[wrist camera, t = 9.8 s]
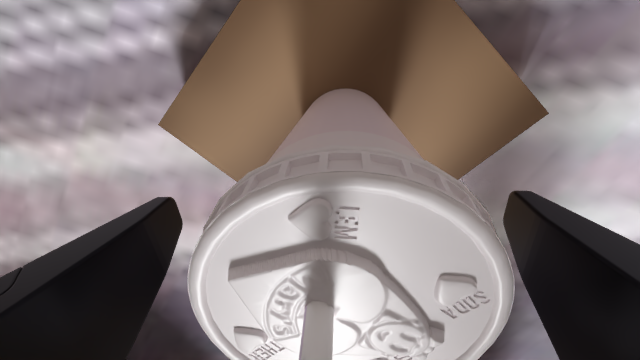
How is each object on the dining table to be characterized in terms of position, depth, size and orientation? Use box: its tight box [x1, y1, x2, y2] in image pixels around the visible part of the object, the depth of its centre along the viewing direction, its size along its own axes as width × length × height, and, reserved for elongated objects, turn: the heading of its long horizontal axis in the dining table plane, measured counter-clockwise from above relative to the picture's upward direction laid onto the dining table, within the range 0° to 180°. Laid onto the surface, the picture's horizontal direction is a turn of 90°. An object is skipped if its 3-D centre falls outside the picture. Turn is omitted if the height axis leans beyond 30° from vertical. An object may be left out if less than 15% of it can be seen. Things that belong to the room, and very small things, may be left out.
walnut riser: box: [158, 0, 549, 182], centre depth 16 cm, size 12×12×4 cm
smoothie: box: [187, 89, 515, 360], centre depth 9 cm, size 6×6×14 cm
